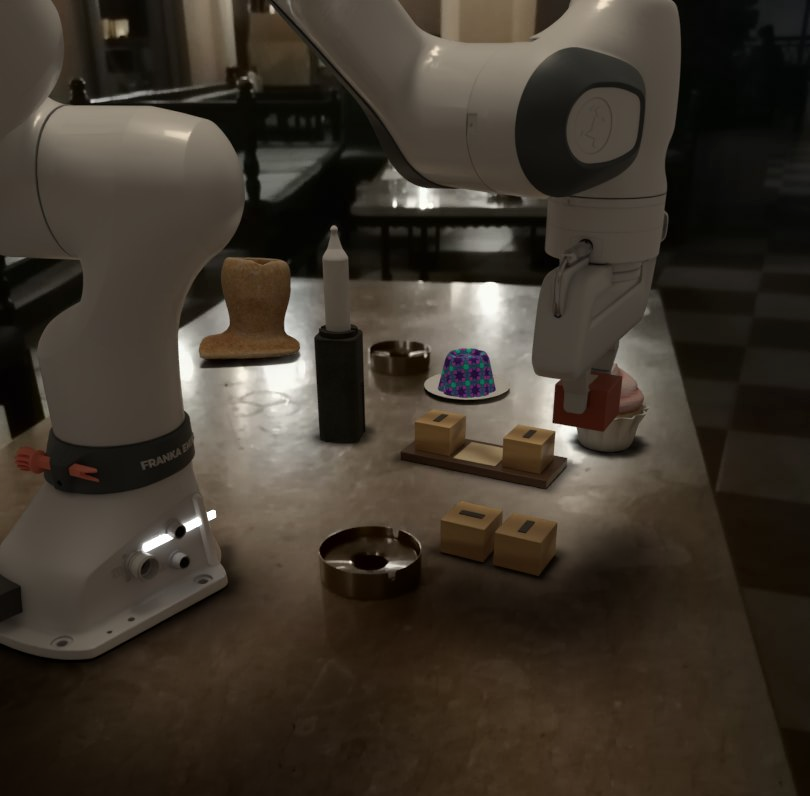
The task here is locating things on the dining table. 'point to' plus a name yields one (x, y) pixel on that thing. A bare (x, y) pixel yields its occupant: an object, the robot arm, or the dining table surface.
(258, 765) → the dining table surface
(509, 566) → the tan wooden cube
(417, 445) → the tray with tiles
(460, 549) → the tile
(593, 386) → the red cube
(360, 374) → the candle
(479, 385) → the pudding
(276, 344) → the stone cup
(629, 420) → the cupcake
